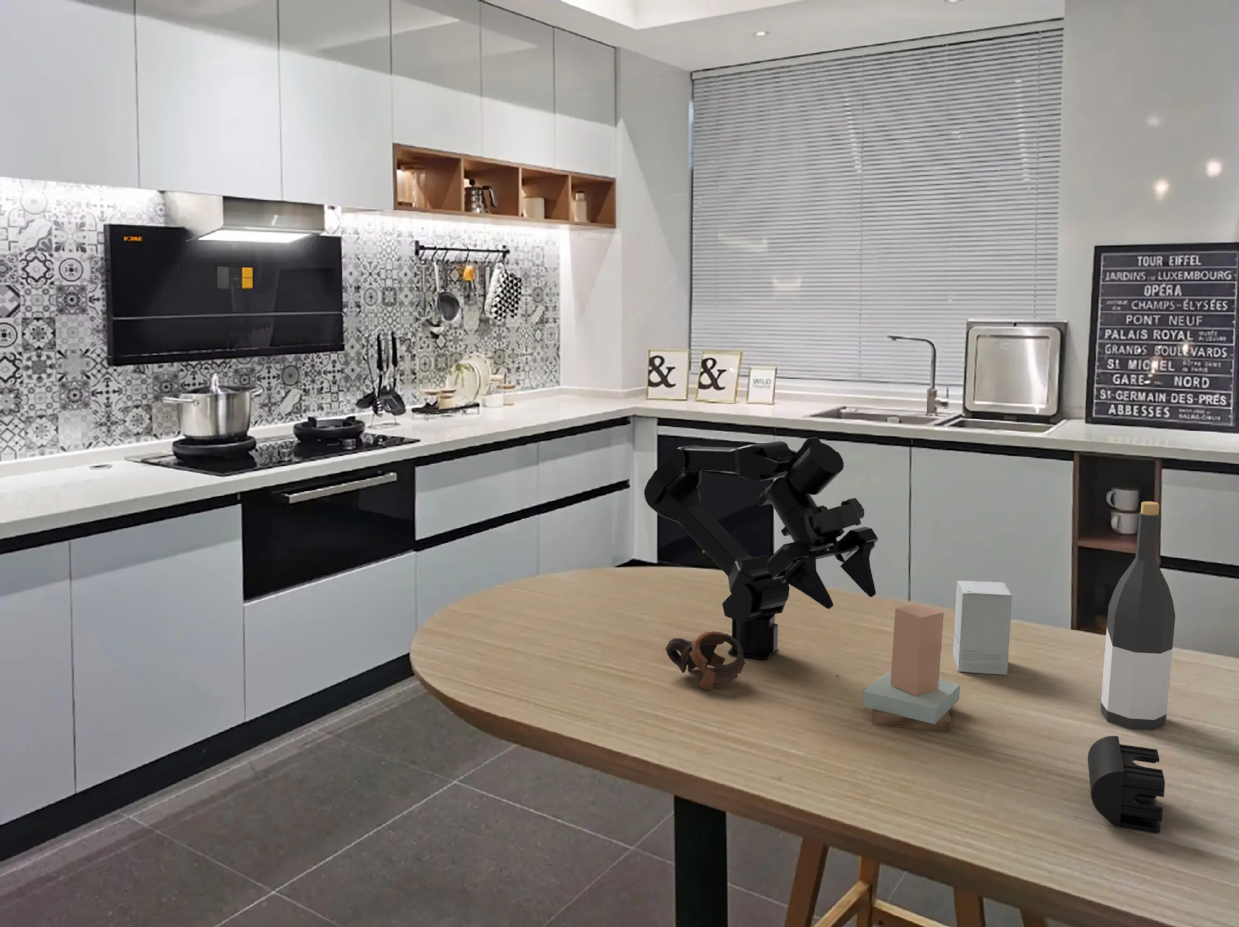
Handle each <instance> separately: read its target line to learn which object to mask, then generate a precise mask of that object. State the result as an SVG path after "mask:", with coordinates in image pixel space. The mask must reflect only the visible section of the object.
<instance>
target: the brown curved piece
mask: <svg viewBox="0 0 1239 927" xmlns="http://www.w3.org/2000/svg"><path fill="white" fill-rule="evenodd" d="M725 642H726V643H728V644H729V645H730V646H731V648H733V649H735V650H736V651H737V656H736V658H735V660H734V661H732V662H730V663H726V664H724V663H725V662H726V658H725V657H724V656H722V655H719V654H718V653H716V652H715V650H716V648H717V647H718V645H719V646H720V645H723V644H724V643H725ZM665 651H666V654H667V657H668V658H669V660H670V661H671V662H673V663H674V664H675V665H676V666H677V667H678V668H679V671H680V672H681V673H682V674H684V673H685V672H686V670H687V672H689V673H690V672H692V671H693V670H695V669H696V668H697V669H698V670H699V671H700V672H701V673H702V674H703V675H702V678H701V680H700V682H699V686H700V688H702V689H704V690H706V691H710V690H712V689H713V688H714V686H718V685H722V684H725V683H727V682H730V681H732V680H734V679H736V678H738V676H739V674H741V673H742V671H743V670H744V666H745V665H746V662H745V657H743V650H742V647H741V645H740V643H739V642H738V641H737V640H736V639H735V638H733V637H732V635H730V634H728V633H724V632H721V631H707V632H704V633H701V634H700V635H699V636H698V637H697V638H696V639H695V640H692V641H691V640H690V641H689V640H687V639H684V638H681V637H675V638H671V639H670V640H669V641H668V644H666V646H665ZM710 667H713V668H714V669H712V668H710Z"/></svg>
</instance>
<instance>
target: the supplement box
mask: <svg viewBox="0 0 1239 927" xmlns="http://www.w3.org/2000/svg"><path fill="white" fill-rule="evenodd" d="M1012 603H1013V594H1012V593H1011V591H1010V589H1009V588H1008V586H1007V585H1006V583H1005V582H999V581H998V582H997V581H980V580H979V581H977V580H976V581H975V580H957V581H956V590H955V609H954V610H955V611H954V612H955V613H954V628H953V629H954V630H953V645H952V646H953V648H952V649H953V650H952V657H953V660H954V663H955V666H956V668H957V672H961V673H974V674H987V675H1001V676H1002V675H1003V676H1005V675H1008V668H1009V651H1010V650H1009V649H1010V638H1011V637H1010V635H1011V620H1012V618H1011V617H1012V616H1011V615H1012Z"/></svg>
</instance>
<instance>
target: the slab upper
mask: <svg viewBox="0 0 1239 927" xmlns="http://www.w3.org/2000/svg"><path fill="white" fill-rule="evenodd" d="M890 684H891V668H890V669H889V670H888V671H887V672H885V673H884V674H883V675H882V676H881V677H879V678H878V679H877V680H876V681H874V682H873V683H872V684H870V685H869V686H868V687H867V688H865V690H864V691H863V694H862V696H863V697H862V698H863V699H862V700H863V701H862V707H864V708H868V709H872V710H873V709H875V710H879V711H883V712H887V713H891V714H895V715H899V716H903V717H908V718H912V719H916V720H920V721H924V722H928V723H932V724H936V723H937V722H938V721H939V720H940V719H941V718H942V717H943V716H944V715H945V714H946V713H947V712H948V711H949V712H950V710H951V709H952V708H953V707H954V706H955V705H956V704H957V703H958V702H959V701H960V693H961V684H958V683H954V682H949V681H945V680H940V679H939V684H938V689H937V690H934V691H931V692H927V693H924V694H921V695H917V696H915V695H913V694H910V693H908V692H906V691H903V690H901V689H899V688H896V687H894V686H891V685H890Z"/></svg>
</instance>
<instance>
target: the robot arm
mask: <svg viewBox="0 0 1239 927" xmlns="http://www.w3.org/2000/svg"><path fill="white" fill-rule="evenodd" d="M844 464H845V462H844V459H843V457H842V455H841V454H840V452H838V451H836V450H835V449H834V447H832V446H830V445H829V444H826V443H824V442H822V441H821V440H820V438H819V436H816V437H815V436H814V437H807V439H805V441H804V442H803V444H802V446H801V447H800V448H799V449H798V450H797V451H795V450H792V449H790V447H789V445H788V443H786V442H784V441H781V440H780V441H779V440H777V441H772V442H771V441H770V442H761V443H756V444H748V445H743V446H741V447H728V446H727V447H725V446H724V447H723V446H701V445H698V444H693V445H687V446H686V445H685V446H681V447H680V446H679V447H677V448H676V449H674V450H673V452H672V453H671V455H670V457H669V458H668V459H667V460H666V461H665V462H664V463H662V464H661V465H660V466H659V467H658V468H657V469H655V471H654V472H653V474H652V475H651V476H650V478H649V479H648V481H647V483H646V485H645V487H644V492H643V493H644V494H643V495H644V499H645V502H646V503H647V506H649V507H650V508H651V509H652V510H653V511H654V512H656V514H658V515H660V516H661V517H664V518H665V519H669V520H671V521H674V522H677V524H679V525H680V526H681V527H682V528H683V529H684V530H685V531H686V532H687V534H688V535H690V537H691V538H692V539H693V540H694V541H695V543H697V545H698V546H699V547H701V549H702V550H703V551H704V552H705V553H706V554H707V555H708V556H709V558H711V559H712V561H713V562H714V563H715V564H716V565H717V566H718V567H719V568H720V570H722V572H723V573H724V574H725V575H726V576H727V579H728V587H729V592H730V593H731V594H730V595H729V596H728V597H727V598H726V599H724V601H723V602H722V610H723V614H724V616H725V617H726V618H729V619H731V621H732V622H731V636H732V637H733V638H735V639H736V640H737V641H738V642H739V643H740V645H741V647H742V650H743V657H744V658H751V659H758V660H765V661H766V660H768V659H769V658H770V657H771V656H772V655H773V653H775V651H776V650H778V647H779V646H778V642H779V640H778V638H779V637H778V636H779V625H778V623H776V620H775V619H776V615H778V614H782V613H783V612H784V608H785V606H786V603H787V602H788V599H789V597H790V586H792V587H794V588H795V589H796V590H798V591H800V592H801V593H803V594H805V595H806V596H808V598H809V597H810V598H811V599H812V600H813V601H815V602H817V603H818V604H820V605H821V606H823V608H825V609H827V610H830V609H832V607H834V602H833V599H832V597H831V595H830V593H829V591H828V589H827V588H826V586H825V584H824V582H823V581H822V579H821V576H820V575H819V573H818V572H817V560H820V559H823V558H824V559H825V558H828V557H833V556H834V557H835V558H836V560H838V562H841V563H842V564H840V568H841V569H842V570H843V572H844V573H846V574H847V575H848V576H849V577H850V579H851V580H853V581H854V583H855V584H856V585H857V586H858V587H859V588H860V590H861V591H863V592H864V593H865V594H866V595H867V596H868V597H869V598H873V597H874V596H876V594H877V591H876V587H875V581H874V578H873V573H872V569H871V568H872V567H871V561H870V557H871V552H872V550H874V549H875V547H876V546H875V545H876V543H877V542H878V541H879V537H878V536H877V534H876V533H875V531H874V530H873V528H871V527H868V526H862V527H858V528H853V529H849V530H848V531H847V533H846V534H845V535H843V534H844V533H845V530H844V529H845V528H846V529H847V528H850V527H852V526H860V525H861V524H862V521H861V519H863V518H864V517H865V509H864V507H863V505H862V504H861V503H860V501H859V500H858V499H857V497H853V498H847V500H843V501H841V503H840V505H838V506H835V507H831V508H828V507H827V506H826V505H819V506H818V504H817V503H816V502H815V500H814V498H813V497H812V496H815V495H816V496H817V495H819V494H821V493H822V492H823V491H824V489H825V488H827V486H828V485H830V483H831V482H833V480H835V478H837V476H838V475H839V474H840V473H841V472H842V471H843V470H844V466H845V465H844ZM702 471H704V472H705V471H706V472H707V471H708V472H726V473H734V474H737V475H738V477H739V478H742V479H744V480H747V481H751V482H756V483H757V482H763V481H769V480H773V482H772V483H771V484H770V485H769V486H763V487H761V488H760V492H761V493H760V495H759V498H758V505H759V506H766V505H772V507H773V509H774V510H775V512H776V514H777V515H778V517H779V519H780V521H781V522H782V524H783V526H784V527H783V528H782V529H781V530H780V532H781V534H782V536H783V537H787V536H790V538H791V540H792V541H793V542H788V543H784V544H782V545H781V546H780V548H778V549H777V550H776V551H775V552H774V554H772V556H770V555H768V554H765V555H760V556H756V557H753V556H752V555H750V554H749V553H748V552H747V551H746V549H745V548H744V547H743V546H741V544H740V543H739V541H737V540H736V539H735V538H734V537H733V536H732V535H731V533H729V532H728V531H727V529H725V528H724V527H723V525H722V524H720V523H719V521H718V520H717V519H716V518H715V517H714V516H713V515H712V514H711V513H710V512H709V511H708V510H707V509H706V508H705V507H704V506H703V505H702V502H701V498H700V497H701V495H700V490H699V488H698V487H699V486H700V484H701V483H702ZM684 472H685V473H684ZM842 535H843V537H841V536H842ZM839 537H841V538H840V539H839V540H838V538H839ZM727 654H728V655H731V656H736V657H737V651H736V650H735V649H733V648H732V647H730V649H728V650H727Z"/></svg>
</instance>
